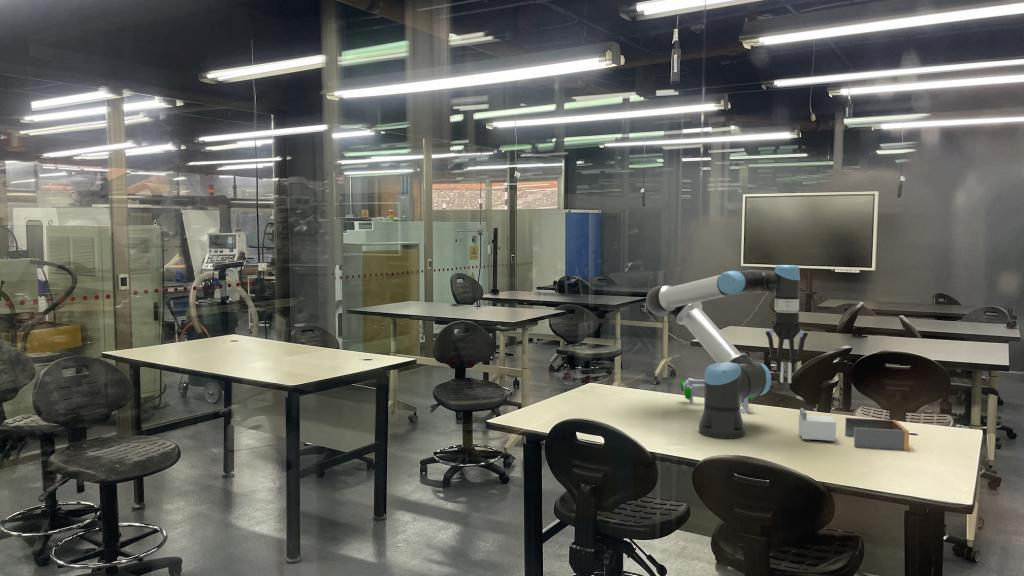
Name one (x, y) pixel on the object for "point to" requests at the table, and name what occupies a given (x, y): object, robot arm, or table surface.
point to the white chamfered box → (816, 427)
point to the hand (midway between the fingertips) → (785, 382)
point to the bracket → (691, 387)
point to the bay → (877, 433)
